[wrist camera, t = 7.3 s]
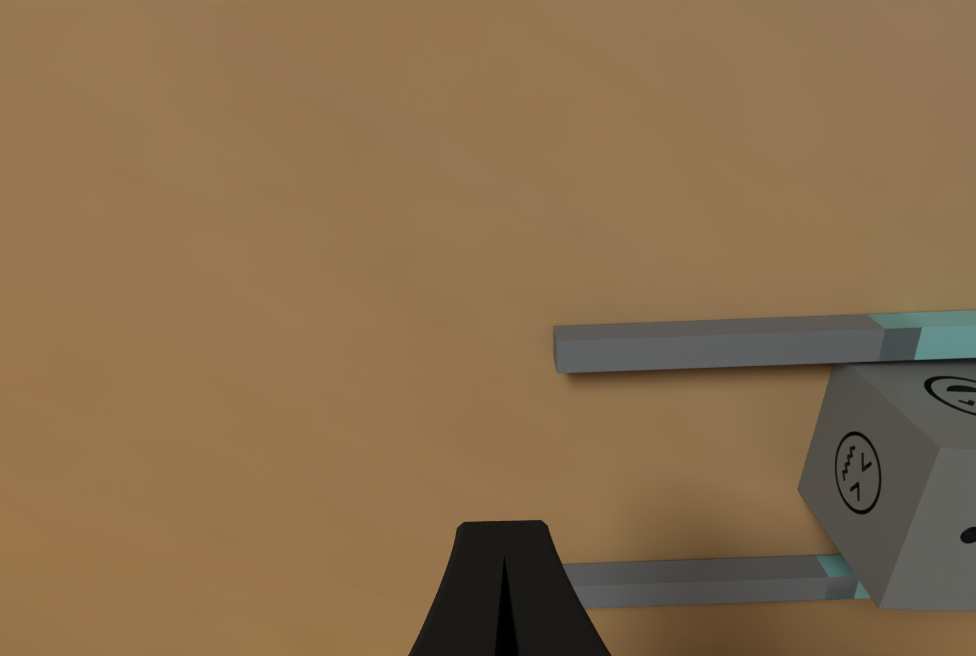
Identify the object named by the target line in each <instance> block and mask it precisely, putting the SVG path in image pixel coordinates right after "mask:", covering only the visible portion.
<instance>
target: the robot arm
mask: <svg viewBox="0 0 976 656" xmlns="http://www.w3.org/2000/svg"><path fill="white" fill-rule="evenodd" d="M408 656H611V654H610V653H609V651H608V649H607V648H606V646H605V644H604V643H603V641H602V639H601V638H600V636H599V634H598V632H597V631H596V629H595V627H594V625H593V623H592V622H591V620H590V618H589V616H588V614H587V613H586V611H585V609H584V607H583V606H582V604H581V602H580V600H579V598H578V596H577V594H576V592H575V590H574V588H573V586H572V584H571V582H570V580H569V578H568V576H567V574H566V572H565V570H564V568H563V565H562V563H561V561H560V558H559V556H558V554H557V551H556V549H555V546H554V544H553V541H552V538H551V535H550V532H549V529H548V526H547V525H546V524H545V523H544V522H543V521H541V520H524V521H482V522H463V523H462V524H461V525H460V526H459V527H458V528H457V531H456V537H455V541H454V545H453V549H452V552H451V556H450V559H449V562H448V565H447V568H446V571H445V573H444V576H443V579H442V581H441V584H440V587H439V589H438V592H437V594H436V597H435V599H434V601H433V604H432V606H431V608H430V611H429V613H428V615H427V617H426V620H425V622H424V624H423V627H422V629H421V631H420V633H419V635H418V637H417V640H416V642H415V643H414V645H413V647H412V649H411V651H410V653H409V655H408Z"/></svg>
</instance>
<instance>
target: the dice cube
mask: <svg viewBox="0 0 976 656" xmlns="http://www.w3.org/2000/svg"><path fill="white" fill-rule="evenodd" d="M798 491H799V492H800V494H801V495H802V497H803V498H804V500H805V501H806V503H807V504H808V506H809V507H810V509H811V510H812V512H813V513H814V514H815V516H816V517H817V519H818V520H819V522H820V523H821V525H822V526H823V528H824V529H825V531H826V532H827V534H828V535H829V537H830V538H831V540H832V541H833V543H834V544H835V545H836V547H837V548H838V550H839V551H840V553H841V554H842V556H843V557H844V559H845V560H846V562H847V563H848V565H849V566H850V568H851V569H852V571H853V572H854V574H855V575H856V576H857V578H858V579H859V581H860V582H861V584H862V585H863V587H864V588H865V590H866V591H867V593H868V594H869V596H870V597H871V599H872V600H873V602H874V603H875V604H876V606H877V607H878V609H895V610H935V611H975V612H976V358H951V359H925V360H898V361H871V362H845V363H834V364H833V368H832V371H831V374H830V378H829V381H828V385H827V388H826V392H825V395H824V399H823V402H822V406H821V409H820V413H819V416H818V420H817V423H816V427H815V430H814V434H813V437H812V441H811V444H810V448H809V451H808V455H807V458H806V462H805V465H804V469H803V472H802V475H801V479H800V482H799V486H798Z"/></svg>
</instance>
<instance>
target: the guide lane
mask: <svg viewBox="0 0 976 656" xmlns="http://www.w3.org/2000/svg"><path fill="white" fill-rule="evenodd" d="M951 358H976V310H969V311H943V312H916V313H890V314H863V315H837V316H811V317H784V318H758V319H731V320H705V321H679V322H652V323H626V324H599V325H573V326H554V361H555V366H556V371H557V373H577V372H604V371H631V370H658V369H684V368H711V367H738V366H764V365H791V364H818V363H845V362H871V361H898V360H925V359H951ZM562 565H563V568H564V570H565V572H566V574H567V576H568V578H569V580H570V582H571V584H572V586H573V588H574V590H575V592H576V594H577V596H578V598H579V600H580V602H581V604H582V606H583V607H584V608H609V607H638V606H666V605H695V604H723V603H751V602H780V601H808V600H837V599H865V598H871V597H870V596H869V594H868V593H867V591H866V590H865V588H864V587H863V585H862V584H861V582H860V581H859V579H858V578H857V576H856V575H855V574H854V572H853V571H852V569H851V568H850V566H849V565H848V563H847V562H846V560H845V559H844V557H843V556H842V555H815V556H787V557H759V558H731V559H703V560H675V561H647V562H618V563H590V564H562Z"/></svg>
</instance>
